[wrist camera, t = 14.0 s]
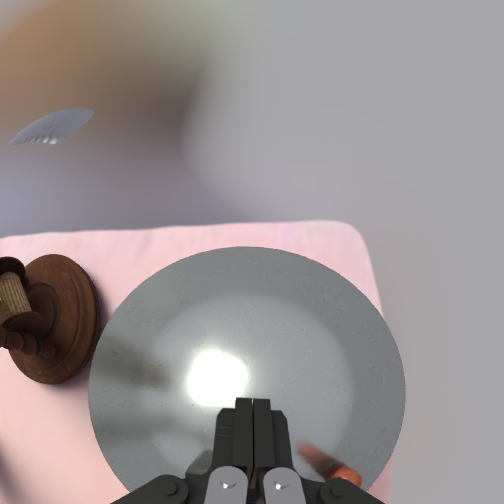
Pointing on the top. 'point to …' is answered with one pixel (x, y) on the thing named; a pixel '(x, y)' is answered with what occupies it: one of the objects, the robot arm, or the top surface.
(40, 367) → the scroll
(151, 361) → the lid
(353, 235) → the top surface
